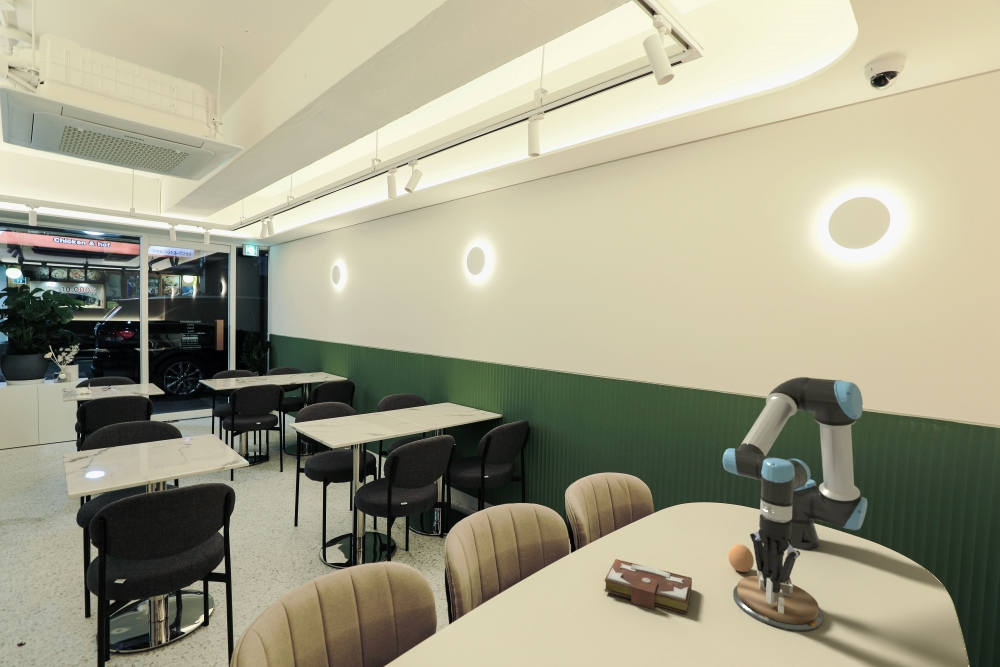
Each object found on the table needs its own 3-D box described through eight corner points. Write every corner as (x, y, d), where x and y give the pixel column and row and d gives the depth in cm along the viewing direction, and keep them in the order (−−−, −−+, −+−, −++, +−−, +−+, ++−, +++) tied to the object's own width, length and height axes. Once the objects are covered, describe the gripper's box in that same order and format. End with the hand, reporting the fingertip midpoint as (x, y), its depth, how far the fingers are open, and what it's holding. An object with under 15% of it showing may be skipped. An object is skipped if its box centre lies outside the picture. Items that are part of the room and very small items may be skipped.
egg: (747, 579, 149) (748, 552, 148) (724, 569, 154) (725, 544, 154) (756, 571, 154) (757, 545, 153) (733, 562, 159) (734, 537, 159)
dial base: (748, 576, 150) (748, 571, 150) (830, 607, 135) (831, 602, 135) (721, 604, 135) (721, 599, 135) (811, 643, 119) (811, 637, 119)
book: (691, 590, 143) (692, 574, 142) (686, 619, 129) (687, 601, 129) (615, 570, 153) (615, 555, 153) (603, 595, 139) (603, 578, 139)
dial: (735, 576, 148) (736, 557, 148) (810, 592, 140) (811, 572, 140) (739, 611, 130) (739, 590, 130) (825, 632, 122) (826, 609, 121)
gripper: (744, 510, 132) (740, 592, 133) (790, 529, 121) (785, 619, 122) (762, 505, 136) (758, 586, 137) (808, 524, 124) (803, 611, 125)
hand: (771, 601), depth 129 cm, fingers closed
